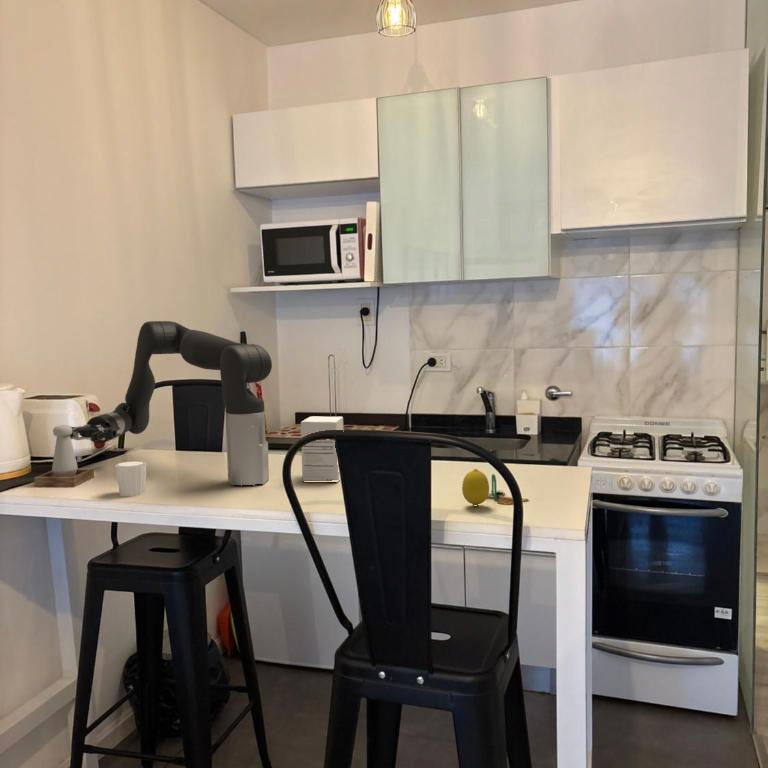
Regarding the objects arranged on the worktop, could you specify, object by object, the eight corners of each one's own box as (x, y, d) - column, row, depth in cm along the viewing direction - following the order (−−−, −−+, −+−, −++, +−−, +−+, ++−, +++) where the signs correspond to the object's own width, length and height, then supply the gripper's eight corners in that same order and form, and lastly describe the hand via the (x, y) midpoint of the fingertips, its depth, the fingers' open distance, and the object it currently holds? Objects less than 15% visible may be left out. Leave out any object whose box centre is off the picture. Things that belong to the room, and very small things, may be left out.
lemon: (487, 503, 154) (487, 466, 153) (490, 510, 148) (490, 471, 148) (461, 503, 154) (461, 466, 153) (463, 510, 149) (463, 472, 148)
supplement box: (310, 474, 184) (308, 415, 183) (345, 475, 183) (344, 415, 181) (301, 482, 175) (299, 421, 174) (337, 483, 174) (336, 421, 172)
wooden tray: (94, 477, 185) (93, 468, 185) (74, 486, 175) (74, 477, 175) (56, 477, 186) (56, 468, 186) (34, 486, 176) (34, 477, 176)
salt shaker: (68, 480, 177) (65, 427, 176) (47, 480, 178) (44, 427, 177) (83, 475, 183) (80, 424, 181) (62, 474, 184) (59, 423, 183)
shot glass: (138, 497, 164) (137, 466, 163) (110, 496, 165) (108, 466, 164) (153, 490, 170) (152, 460, 170) (126, 489, 172) (125, 460, 171)
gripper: (80, 414, 203) (49, 423, 187) (130, 414, 202) (103, 423, 186) (81, 440, 204) (51, 452, 188) (131, 440, 203) (104, 452, 187)
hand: (77, 437), depth 187 cm, fingers open, 8 cm apart
